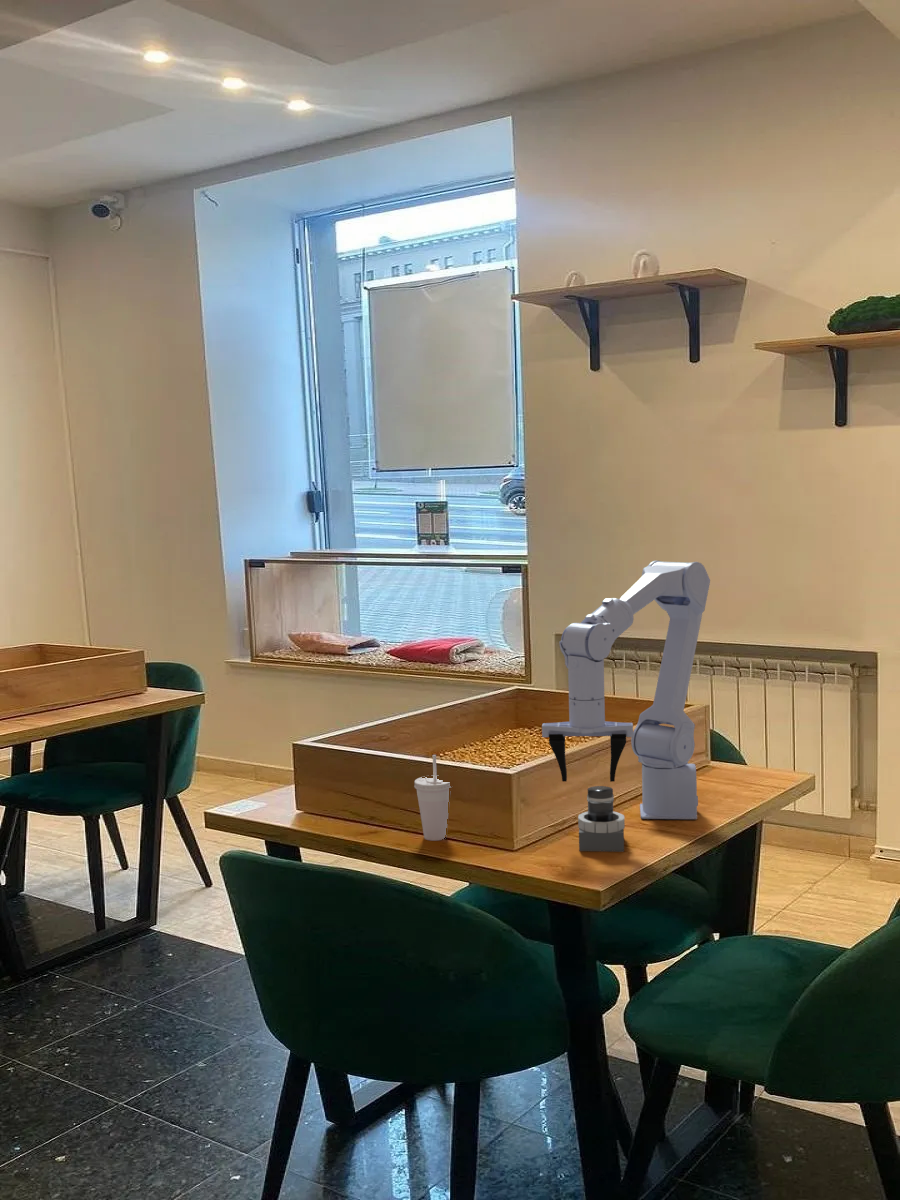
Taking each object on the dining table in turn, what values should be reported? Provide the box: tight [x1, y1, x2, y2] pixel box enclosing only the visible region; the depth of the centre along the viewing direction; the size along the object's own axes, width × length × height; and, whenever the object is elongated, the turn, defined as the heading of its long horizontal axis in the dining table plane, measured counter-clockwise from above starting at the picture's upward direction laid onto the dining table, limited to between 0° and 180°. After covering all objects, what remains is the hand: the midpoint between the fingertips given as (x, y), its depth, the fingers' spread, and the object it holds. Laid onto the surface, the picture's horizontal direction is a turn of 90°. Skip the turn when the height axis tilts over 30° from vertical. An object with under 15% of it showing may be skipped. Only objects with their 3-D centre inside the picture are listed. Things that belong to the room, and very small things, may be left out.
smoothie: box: [413, 754, 452, 842], centre depth 187 cm, size 6×6×14 cm
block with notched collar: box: [577, 811, 626, 853], centre depth 181 cm, size 7×7×4 cm
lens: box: [586, 785, 615, 822], centre depth 181 cm, size 4×4×6 cm
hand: (588, 780), depth 183 cm, fingers open, 7 cm apart
